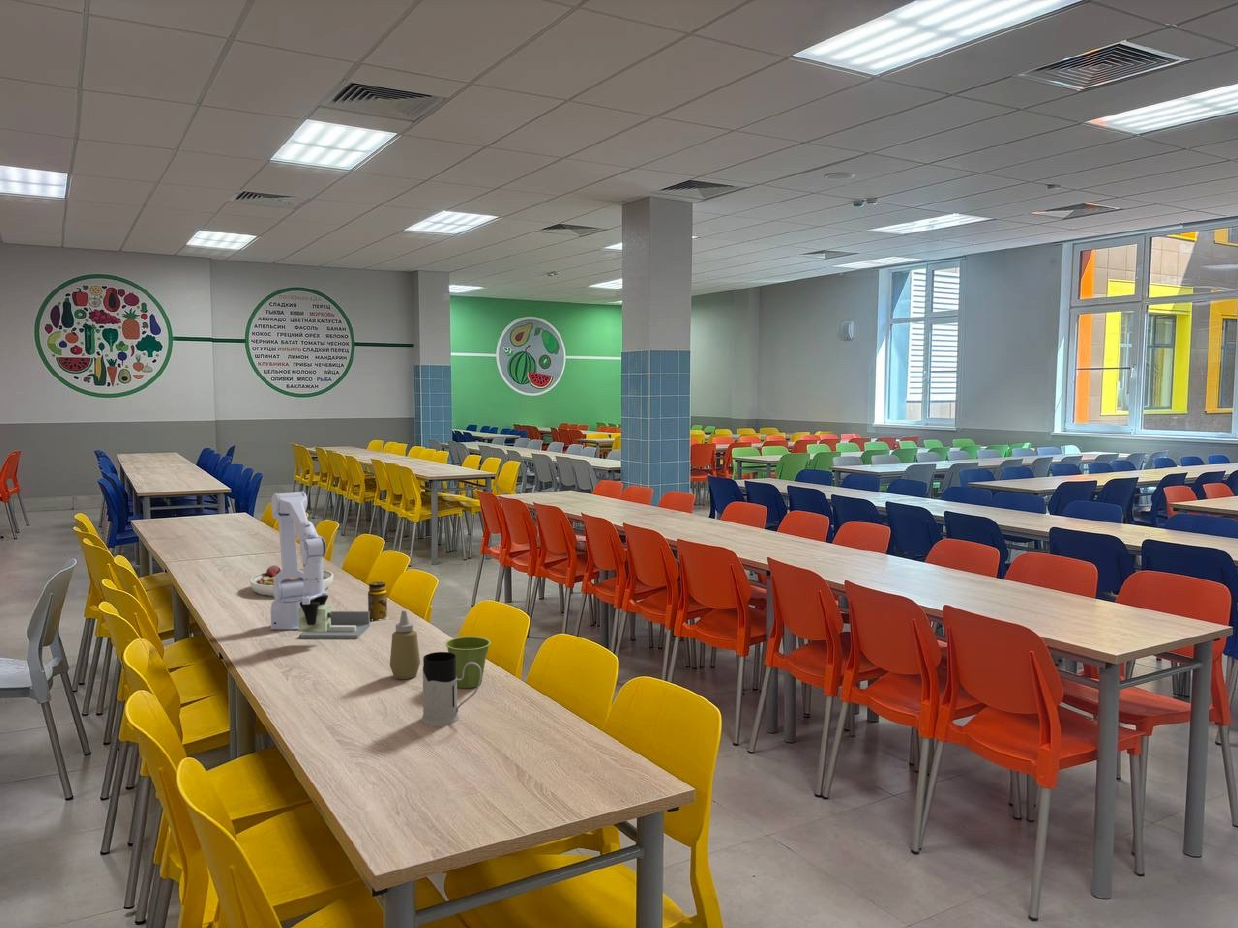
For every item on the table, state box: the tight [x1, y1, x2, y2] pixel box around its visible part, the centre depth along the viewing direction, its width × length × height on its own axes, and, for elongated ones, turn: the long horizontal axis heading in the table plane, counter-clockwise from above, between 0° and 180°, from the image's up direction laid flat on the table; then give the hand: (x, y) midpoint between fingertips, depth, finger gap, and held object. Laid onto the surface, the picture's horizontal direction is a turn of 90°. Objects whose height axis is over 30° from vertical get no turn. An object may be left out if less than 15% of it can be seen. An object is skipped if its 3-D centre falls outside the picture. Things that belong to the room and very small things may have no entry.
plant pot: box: [444, 635, 492, 689], centre depth 226 cm, size 12×12×11 cm
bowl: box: [249, 565, 334, 597], centre depth 332 cm, size 30×30×8 cm
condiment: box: [367, 581, 391, 622], centre depth 290 cm, size 7×8×12 cm
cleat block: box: [298, 604, 332, 633], centre depth 260 cm, size 9×5×7 cm, turn 91°
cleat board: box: [298, 610, 371, 640], centre depth 274 cm, size 18×14×5 cm
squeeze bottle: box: [389, 609, 421, 680], centre depth 232 cm, size 8×8×18 cm
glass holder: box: [420, 651, 482, 727], centre depth 202 cm, size 9×14×15 cm, turn 88°
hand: (314, 621), depth 260 cm, fingers closed on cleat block, 5 cm apart
